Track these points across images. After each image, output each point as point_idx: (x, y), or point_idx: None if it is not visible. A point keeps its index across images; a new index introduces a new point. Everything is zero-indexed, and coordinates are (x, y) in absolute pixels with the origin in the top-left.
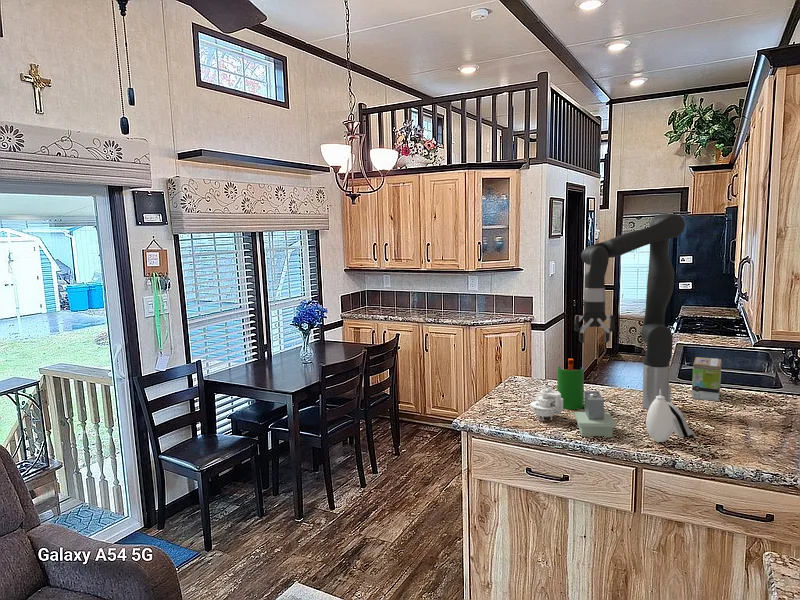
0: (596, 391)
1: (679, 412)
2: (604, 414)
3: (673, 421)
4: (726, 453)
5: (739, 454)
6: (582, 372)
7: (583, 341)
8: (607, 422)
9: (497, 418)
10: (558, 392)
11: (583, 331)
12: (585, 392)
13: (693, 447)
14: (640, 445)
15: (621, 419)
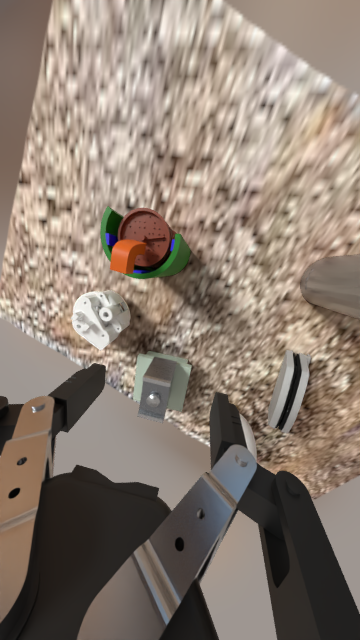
0: (164, 385)
1: (286, 429)
2: (180, 375)
3: (268, 420)
4: (288, 454)
5: (301, 459)
6: (170, 266)
7: (98, 393)
8: (171, 405)
9: (42, 303)
10: (106, 332)
11: (53, 447)
12: (144, 379)
13: (262, 435)
14: (202, 419)
15: (225, 334)
